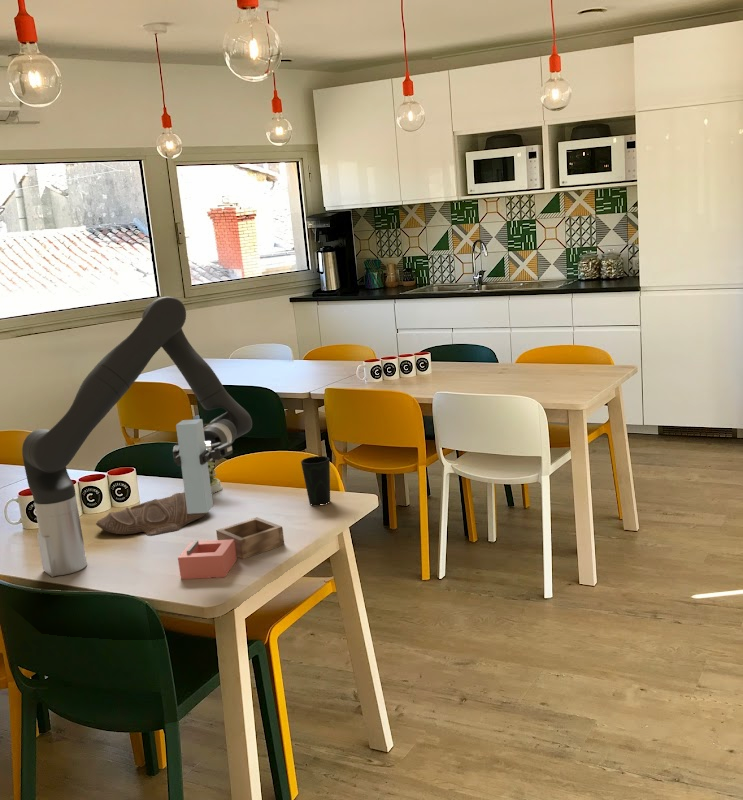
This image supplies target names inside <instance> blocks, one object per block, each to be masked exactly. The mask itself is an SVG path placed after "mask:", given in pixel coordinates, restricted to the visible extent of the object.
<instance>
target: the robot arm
mask: <svg viewBox="0 0 743 800" xmlns="http://www.w3.org/2000/svg"><path fill="white" fill-rule="evenodd" d="M141 315H142V317H141V321H139V322H138V324H137V326H136V327H135V328H134V330H132V332H131V333H130V334H129V335H128V336H126V337H125V339H123V340H122V341H121V342H120V343H119V344H117V345H116V346H115V347H114V348H112V349H111V350H110V351H109V352H108V353H106V355H105V356H104V357H103V358H102V359H101V360H100V361H99V362H98V363H97V364H96V365H95V366H94V367H93V369H92V370H91V371H90V372H89V373H88V374H87V375H86V377H85V378H84V379H83V381H82V383H81V384H80V386H79V388H78V390H77V392H76V395H75V397H74V399H73V402H72V404H71V406H70V407H69V409H68V410H67V412H66V413H65V414H64V415H63V416H62V418H60V419H59V421H58V422H57V423H56V424H55V425H54V426H53V427H52V428H50V429H48V428H40V429H36V430H33V431H32V432H30V433H29V434H28V435H26V437H25V438H24V440H23V443H22V446H21V447H22V448H21V449H22V450H21V452H22V453H21V454H22V460H23V466H24V469H25V470H24V472H25V476H26V479H27V484H28V487H29V490H30V492H31V495H32V498H33V504H34V509H35V515H36V521H37V522H36V523H37V526H38V527H37V528H38V531H37V532H36V537H37V543H38V547H39V554H40V559H41V565H42V570H43V572H44V571H45V572H44V573H46V574H47V575H49V576H51V578H52V577H57V576H63V575H70V574H74V573H77V572H79V571H81V570H83V569H84V568H86V567H87V565H88V561H87V554H86V550H85V542H84V537H83V530H82V524H81V519H80V511H79V507H78V501H77V500H78V499H77V494H76V490H75V489H76V488H75V485H74V482H73V481H72V479H71V477H70V475H69V473H68V470H67V466H68V465H69V464H70V463H71V461H72V460H73V458H74V457H75V456H76V455H77V453H78V451H79V450H80V448H81V447H82V445H83V444H84V443H85V441H86V440H87V438H88V437H89V435H90V434H91V433H92V432H93V430H94V429H95V428H96V427H97V426H98V425H99V424H100V422H102V420H103V419H104V418H105V417H106V416H107V414H108V413H109V412H110V411H111V410H112V409H113V407H115V405H116V404H117V403H118V402H119V401H120V400H121V399H122V397H123V396H124V395H125V394H126V393H127V392H128V391H129V389H130V388H131V387H132V385H134V383H135V381H136V380H137V379H138V378H139V377H140V375H141V374H142V373H143V371H144V369H145V368H147V365H148V364H149V362H150V361H151V359H152V358H153V357H154V356H155V354H157V352H158V351H159V350H161V348H162V349H163V351H164V352H165V353H166V354H167V355H168V357H169V358H170V359H171V361H172V362H173V363H174V365H175V366H176V367H177V369H178V370H179V372H180V373H181V375H182V376H183V378H184V379H185V381H186V383H187V384H188V386H189V387H190V389H191V390H192V392H193V394H194V395H195V397H196V400H197V401H198V402H199V404H200V405H201V406H202V408H203V409H204V410H206V411H211V410H215V409H219V408H220V409H223V410H224V411H226V412H224V413H222V414H221V415H218V416H217V417H215V418H214V419H212V420H210V422H209V423H208V424H209V425H207V426H206V427H204V428H203V429H204V437H205V445H206V451H204V452H203V453H202V454H200V455H199V459H200V465H204V464H205V463H206V462H214V461H216V460H217V461H219V460H222V459H223V458H226V457H229V456H230V455H232V454H233V445H232V444H233V443H234V442H235V440H236V439H238V438H240V437H242V436H243V435H246V434H248V433H249V432H250V431H251V430H252V428H253V419H252V416H251V415H250V413H249V412H248V411H247V410H246V409H245V408H244V407H243V406H241V405H240V404H239V403H238V402H237V401H236V400H235V399H234V398H233V397H232V396H231V395H230V394H229V392H227V390H226V388H225V387H224V386H223V384H222V382H221V381H220V379H219V377H218V375H216V373H215V371H214V370H213V369H212V367H211V366H210V365H209V364H208V363H207V362H206V361H205V360H204V359H203V357H202V356H201V355H200V354H199V353H198V351H196V350H195V349H194V347H193V346H192V344H191V343H190V342H189V340H188V338H187V337H186V335H185V333H184V330H183V326H184V325H185V323H186V319H187V309H186V307H185V305H184V303H183V302H182V301H181V300H179V298H176V297H173V296H162V297H159V298H156V299H155V300H153V301H151V302H150V303H148V305H146V307H145V308H144V310H143V312H142V314H141ZM172 455H173V462H174V463H175V465H177V467H181V466H182V465H181V458H180V452H179V445H178V444H175V445H173V449H172Z"/></svg>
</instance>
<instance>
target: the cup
mask: <svg viewBox="0 0 743 800" xmlns="http://www.w3.org/2000/svg"><path fill="white" fill-rule="evenodd" d="M330 459H331V458H329V457H328V456H324V455H316V456H310V457H306V458H303V459H302V460H301V461H300V463H301V469H302V473H303V478H304V483H305V487H306V493H307V497H308V502H309V505H310V504H312V505H320V504H326V503H328V502H330V503H331V470H330V469H331V462H330V461H331V460H330Z"/></svg>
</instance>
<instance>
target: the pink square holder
mask: <svg viewBox="0 0 743 800" xmlns="http://www.w3.org/2000/svg"><path fill="white" fill-rule="evenodd" d="M237 560H238V559H237V556H236V550H235V543H234V539H230V540H217V539H212V540H211V539H210V540H194V541H193V540H192V541H191V542H190V543H189V544H188V545H187V546H186V548H185V549H183V551H182V552H181V554H180V555H178V557H177V561H178V566H179V567H178V569H179V576H180V579H181V580H191V579H211V577H216V578H226V576H227V575H228V574H229V572H230V571H231V569H232V568H233V566H234V565H235V563H236V562H237ZM229 570H230V571H229Z"/></svg>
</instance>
